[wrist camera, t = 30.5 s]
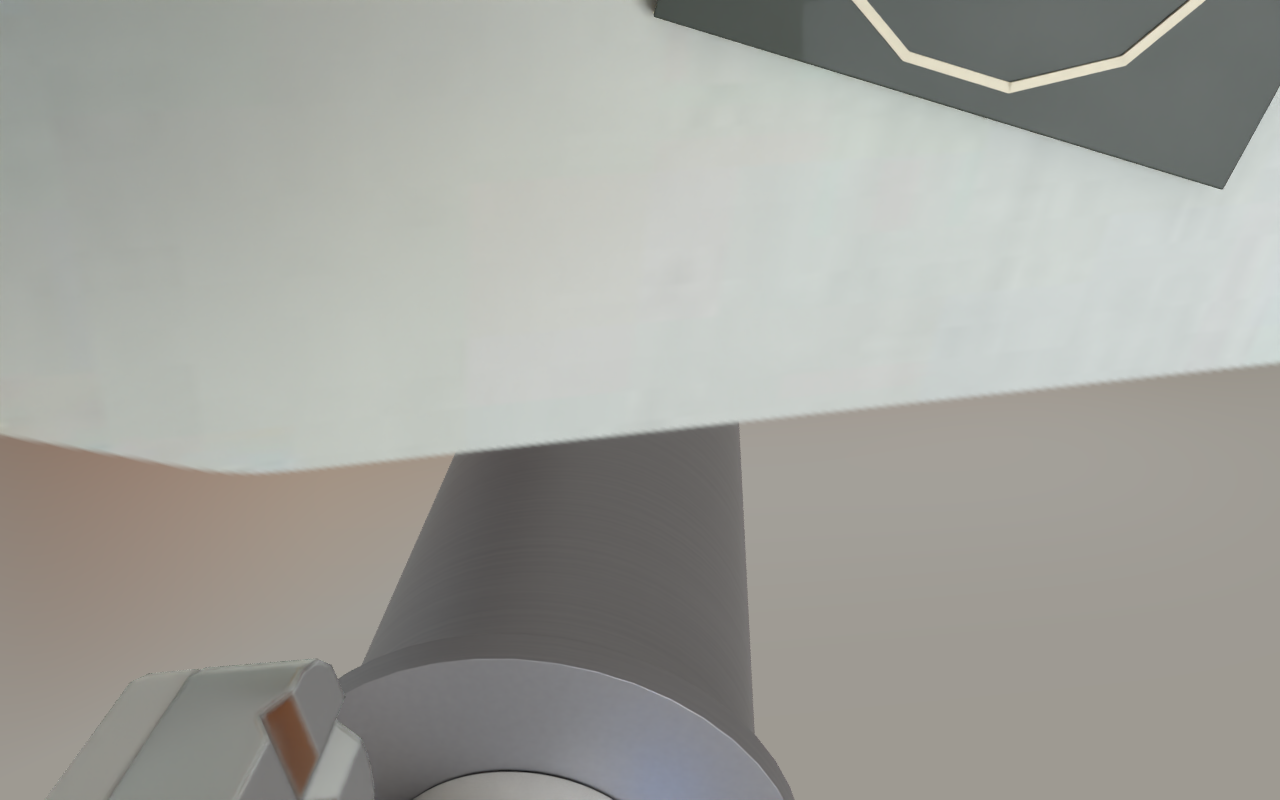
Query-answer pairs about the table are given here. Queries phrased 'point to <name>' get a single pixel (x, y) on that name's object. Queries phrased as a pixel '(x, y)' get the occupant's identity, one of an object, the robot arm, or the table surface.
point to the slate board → (1045, 64)
